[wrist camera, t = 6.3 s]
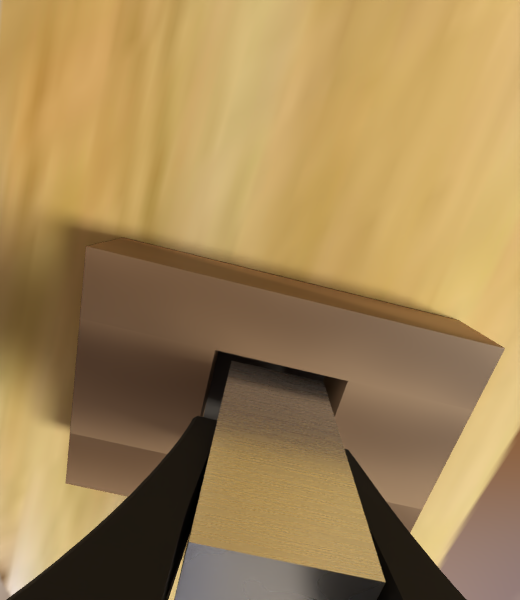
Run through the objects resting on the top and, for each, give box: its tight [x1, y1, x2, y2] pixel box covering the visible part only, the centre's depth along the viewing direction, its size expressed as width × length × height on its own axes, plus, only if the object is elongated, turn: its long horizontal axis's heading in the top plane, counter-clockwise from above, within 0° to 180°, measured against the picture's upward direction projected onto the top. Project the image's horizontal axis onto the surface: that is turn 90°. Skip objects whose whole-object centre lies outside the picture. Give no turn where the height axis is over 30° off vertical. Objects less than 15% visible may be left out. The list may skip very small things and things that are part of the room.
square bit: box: [174, 361, 386, 600], centre depth 8 cm, size 3×3×6 cm
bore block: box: [66, 238, 505, 532], centre depth 12 cm, size 9×13×2 cm
